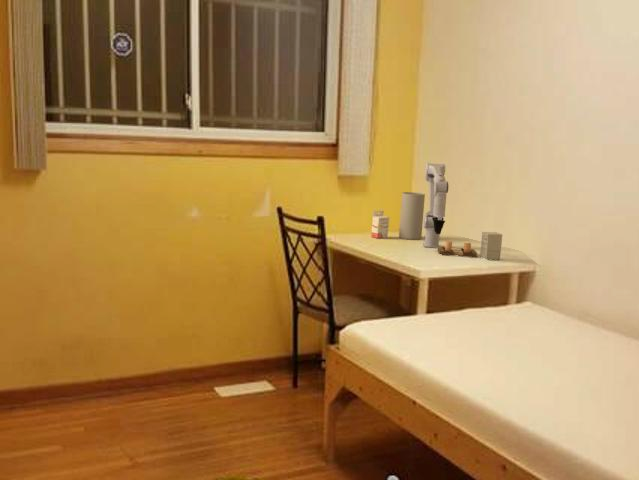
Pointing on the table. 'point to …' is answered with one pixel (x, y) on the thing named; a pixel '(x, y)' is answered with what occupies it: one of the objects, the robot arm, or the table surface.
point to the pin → (467, 247)
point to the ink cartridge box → (379, 225)
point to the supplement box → (491, 245)
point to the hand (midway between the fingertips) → (437, 232)
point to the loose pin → (448, 246)
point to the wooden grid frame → (456, 252)
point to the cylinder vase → (411, 215)
